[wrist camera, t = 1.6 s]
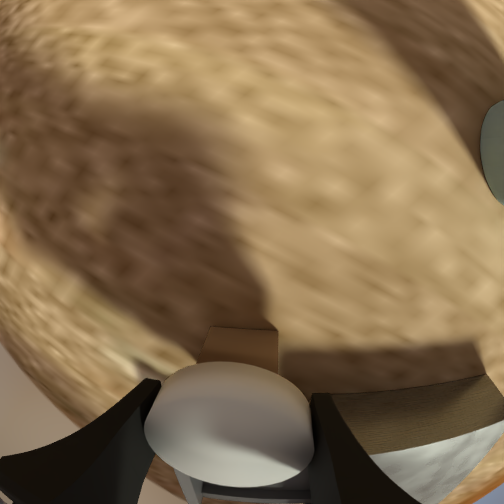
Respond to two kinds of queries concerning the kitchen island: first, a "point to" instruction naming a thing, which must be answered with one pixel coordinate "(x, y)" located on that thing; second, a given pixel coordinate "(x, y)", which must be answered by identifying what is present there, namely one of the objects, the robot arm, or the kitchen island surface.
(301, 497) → the tray
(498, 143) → the cup
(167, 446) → the white rounded dome
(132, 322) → the kitchen island surface
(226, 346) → the brown cardboard cube
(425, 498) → the shiny gray metal block
